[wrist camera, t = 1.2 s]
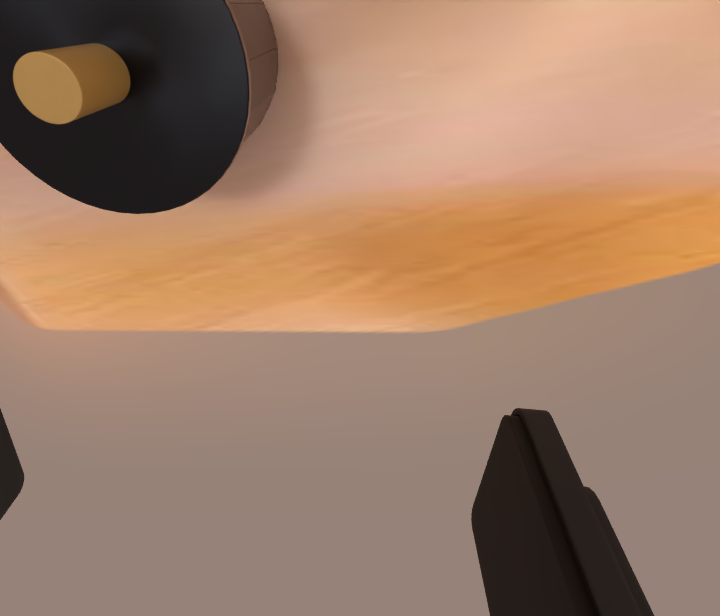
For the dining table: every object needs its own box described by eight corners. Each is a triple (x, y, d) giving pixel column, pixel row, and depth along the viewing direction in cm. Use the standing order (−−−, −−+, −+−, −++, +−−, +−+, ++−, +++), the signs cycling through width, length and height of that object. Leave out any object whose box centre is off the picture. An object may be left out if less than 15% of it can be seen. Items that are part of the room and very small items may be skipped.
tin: (66, -84, 29) (-72, -122, 20) (283, -48, 29) (243, -70, 21) (97, 138, 35) (3, 183, 26) (273, 163, 36) (240, 216, 27)
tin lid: (-78, -137, 20) (-221, -181, 15) (258, -81, 21) (222, -107, 16) (3, 187, 27) (-77, 228, 22) (251, 222, 28) (225, 268, 23)
